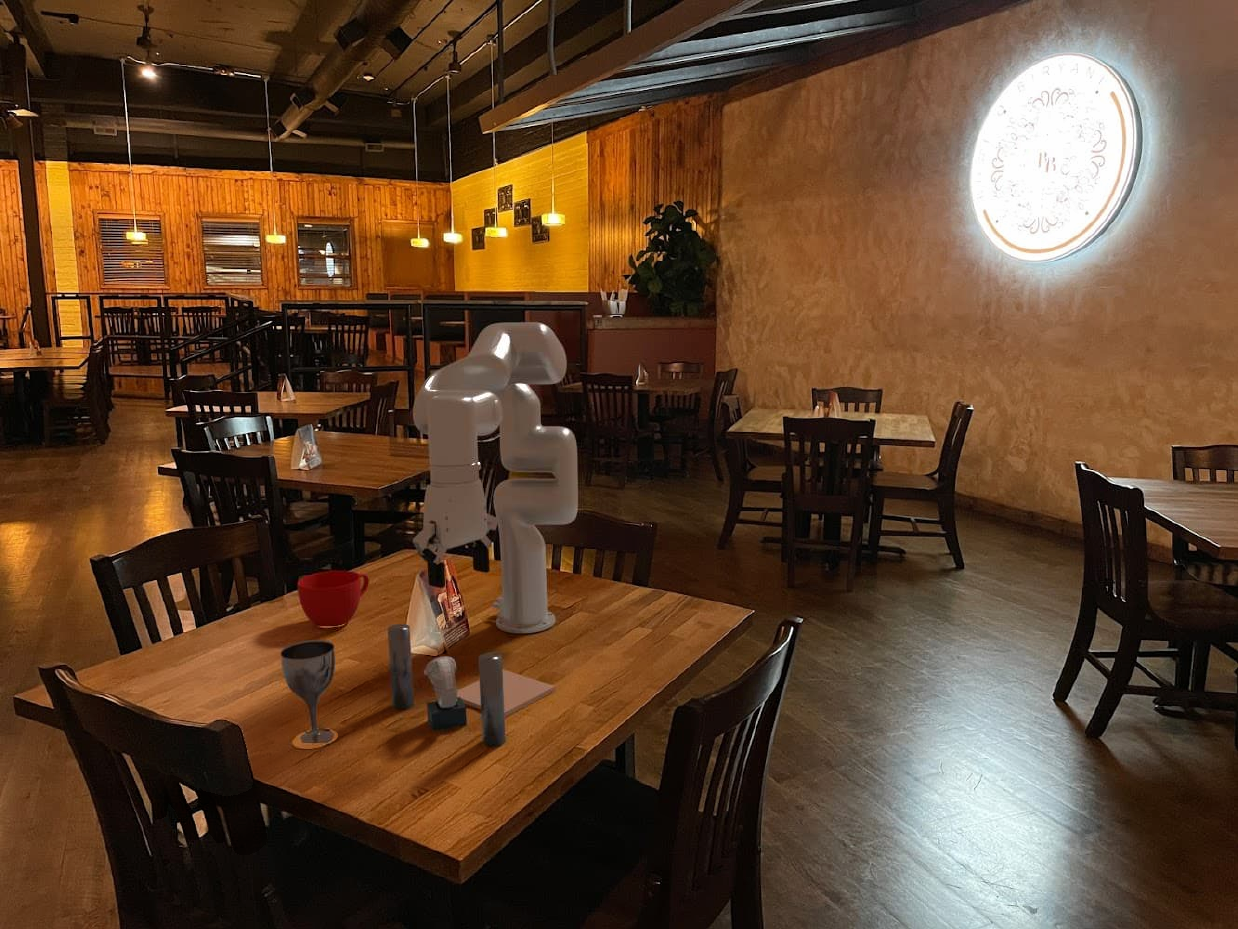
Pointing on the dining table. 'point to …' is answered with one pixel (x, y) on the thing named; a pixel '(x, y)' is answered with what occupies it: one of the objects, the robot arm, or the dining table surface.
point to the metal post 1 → (401, 666)
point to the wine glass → (310, 679)
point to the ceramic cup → (331, 596)
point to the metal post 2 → (492, 699)
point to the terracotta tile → (509, 692)
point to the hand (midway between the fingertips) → (459, 578)
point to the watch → (444, 696)
